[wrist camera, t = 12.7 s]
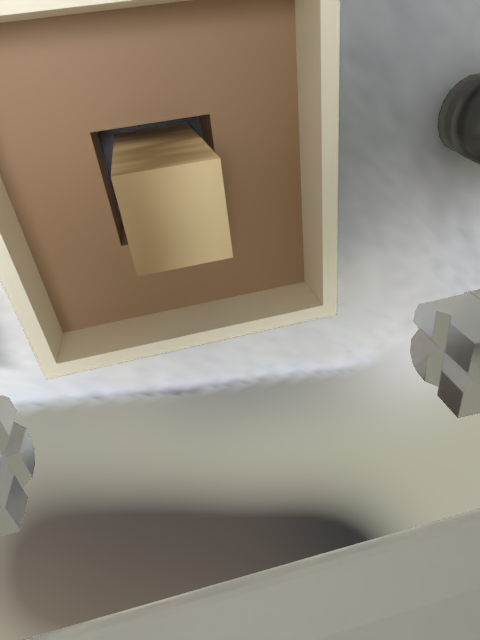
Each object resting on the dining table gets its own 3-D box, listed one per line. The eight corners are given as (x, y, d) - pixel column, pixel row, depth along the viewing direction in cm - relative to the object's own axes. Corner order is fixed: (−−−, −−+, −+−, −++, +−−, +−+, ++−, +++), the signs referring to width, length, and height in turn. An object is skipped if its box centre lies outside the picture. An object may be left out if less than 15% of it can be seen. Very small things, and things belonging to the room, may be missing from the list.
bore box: (282, -24, 22) (340, -52, 16) (295, 264, 31) (336, 314, 25) (-55, 15, 20) (-129, -2, 14) (61, 312, 29) (45, 379, 23)
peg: (186, 122, 24) (220, 158, 16) (198, 193, 27) (233, 257, 18) (114, 133, 24) (110, 176, 16) (132, 205, 26) (137, 276, 18)
